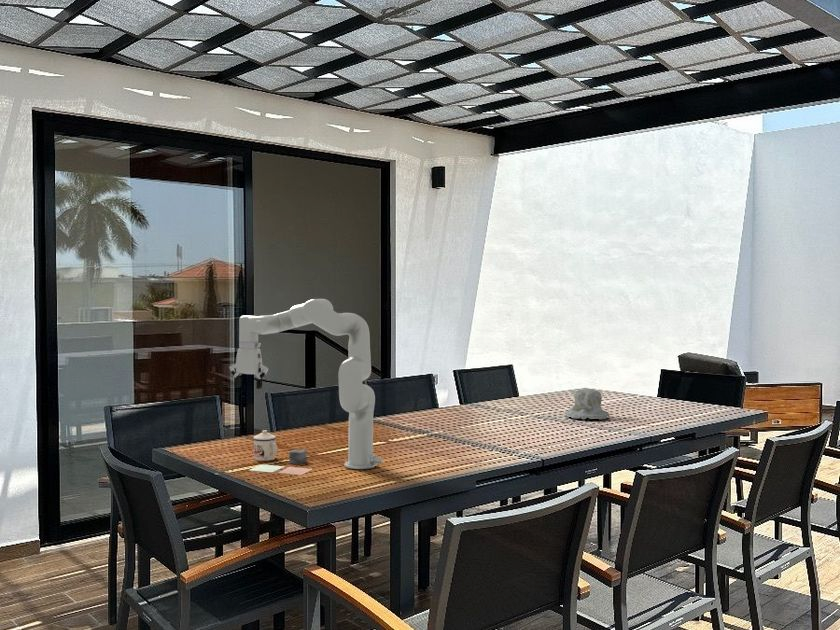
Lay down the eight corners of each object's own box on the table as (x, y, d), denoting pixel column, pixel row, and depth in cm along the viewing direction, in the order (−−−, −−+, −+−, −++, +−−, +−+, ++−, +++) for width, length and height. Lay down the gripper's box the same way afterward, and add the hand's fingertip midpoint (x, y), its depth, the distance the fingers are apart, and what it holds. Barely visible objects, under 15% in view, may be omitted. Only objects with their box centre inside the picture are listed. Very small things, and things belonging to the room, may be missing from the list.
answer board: (313, 470, 304) (313, 469, 304) (301, 476, 295) (301, 474, 295) (261, 465, 311) (261, 464, 311) (248, 471, 302) (248, 470, 302)
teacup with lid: (248, 459, 323) (248, 430, 322) (266, 455, 330) (266, 427, 329) (267, 463, 315) (267, 434, 314) (285, 459, 322) (285, 431, 321)
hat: (619, 419, 426) (620, 391, 425) (587, 422, 414) (588, 393, 413) (586, 411, 448) (586, 385, 447) (554, 415, 436) (555, 387, 435)
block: (306, 462, 318) (306, 450, 318) (300, 465, 313) (300, 452, 313) (295, 461, 319) (295, 449, 319) (289, 464, 315) (289, 451, 314)
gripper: (272, 346, 324) (272, 387, 325) (234, 344, 330) (234, 385, 331) (263, 347, 317) (262, 390, 318) (225, 345, 323) (224, 387, 323)
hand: (248, 387), depth 324 cm, fingers open, 9 cm apart
